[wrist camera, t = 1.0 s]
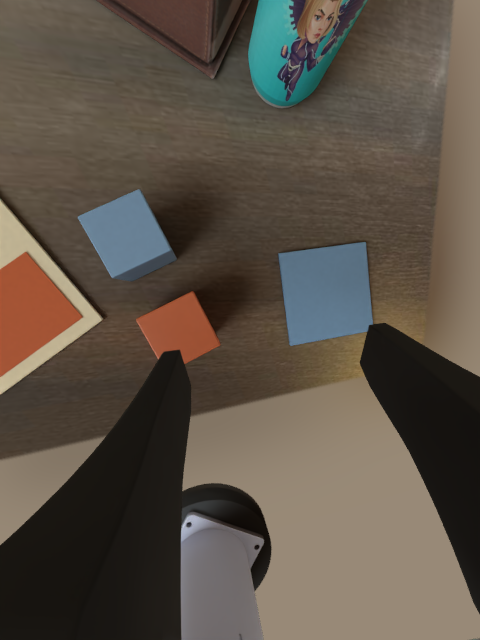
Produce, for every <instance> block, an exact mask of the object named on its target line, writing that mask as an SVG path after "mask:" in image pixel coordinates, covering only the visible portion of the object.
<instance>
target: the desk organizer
mask: <svg viewBox="0 0 480 640" xmlns="http://www.w3.org/2000/svg"><path fill="white" fill-rule="evenodd" d="M97 1H98V2H100V3H101V4H102V5H104V6H105V7H107V8H108V9H110V10H111V11H113V12H114V13H116V14H117V15H119V16H120V17H122V18H123V19H124V20H126V21H127V22H129V23H130V24H132V25H133V26H135V27H136V28H138V29H139V30H141V31H142V32H144V33H146V34H147V35H149V36H150V37H152V38H153V39H154V40H156V41H157V42H159V43H160V44H162V45H163V46H165V47H166V48H168V49H169V50H171V51H172V52H174V53H175V54H177V55H178V56H180V57H181V58H183V59H184V60H186V61H187V62H189V63H190V64H192V65H193V66H195V67H196V68H198V69H199V70H200V71H202V72H203V73H205V74H206V75H208V76H209V77H211V78H212V79H213V78H214V77H215V75H216V72H217V70H218V68H219V67H220V64H221V62H222V60H223V58H224V56H225V53H226V51H227V49H228V47H229V45H230V43H231V40H232V38H233V36H234V34H235V32H236V30H237V28H238V26H239V24H240V21H241V19H242V17H243V15H244V13H245V11H246V9H247V7H248V5H249V3H250V0H97Z"/></svg>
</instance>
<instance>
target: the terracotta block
mask: <svg viewBox="0 0 480 640" xmlns="http://www.w3.org/2000/svg"><path fill="white" fill-rule="evenodd" d="M136 321H137V323H138V324H139V326H140V328H141V330H142V332H143V333H144V335H145V337H146V339H147V340H148V342H149V344H150V346H151V347H152V349H153V351H154V353H155V354H156V356H157V358H158V359H159V358H160V356H161V354H162V353H163V352H165V351H172V350H180V352H181V355H182V358H183V361H184V364H186V363H188V362H189V361H191V360H193V359H195V358H197V357H199V356H201V355H203V354H205V353H207V352H209V351H210V350H212V349H214V348H216V347H218V346H220V345H221V344H220V341H219V339H218V337H217V335H216V333H215V331H214V329H213V327H212V325H211V323H210V321H209V320H208V318H207V316H206V314H205V312H204V310H203V308H202V306H201V304H200V302H199V300H198V298H197V296H196V294H195V293H194V292H193V291H191V292H189V293H187V294H185V295H183V296H181V297H179V298H177V299H175V300H173V301H171V302H169V303H167V304H165V305H163V306H161V307H159V308H157V309H155V310H153V311H151V312H149V313H147V314H145V315H143V316H141V317H139V318H137V319H136Z"/></svg>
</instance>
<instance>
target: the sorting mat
mask: <svg viewBox="0 0 480 640" xmlns="http://www.w3.org/2000/svg"><path fill="white" fill-rule="evenodd" d="M102 320H104V319H103V318H102V316H101V315H100V314H99V313H98V312H97V311H96V309H95V308H94V307H93V306H92V305H91V304H90V302H89V301H88V300H87V299H86V298H85V297H84V295H83V294H82V293H81V292H80V291H79V290H78V288H77V287H76V286H75V285H74V284H73V283H72V281H71V280H70V279H69V278H68V277H67V276H66V274H65V273H64V272H63V271H62V270H61V268H60V267H59V266H58V265H57V264H56V263H55V261H54V260H53V259H52V258H51V257H50V256H49V254H48V253H47V252H46V251H45V250H44V249H43V247H42V246H41V245H40V244H39V243H38V242H37V240H36V239H35V238H34V237H33V236H32V235H31V233H30V232H29V231H28V230H27V229H26V228H25V226H24V225H23V224H22V223H21V222H20V221H19V219H18V218H17V217H16V216H15V215H14V213H13V212H12V211H11V210H10V209H9V208H8V206H7V205H6V204H5V203H4V202H3V201H2V199H1V198H0V395H1V394H2V393H4V392H5V391H6V390H8V389H9V388H10V387H12V386H13V385H15V384H16V383H17V382H19V381H20V380H21V379H23V378H24V377H26V376H27V375H28V374H30V373H31V372H32V371H34V370H35V369H36V368H38V367H39V366H41V365H42V364H43V363H45V362H46V361H47V360H49V359H50V358H52V357H53V356H54V355H56V354H57V353H58V352H60V351H61V350H63V349H64V348H65V347H67V346H68V345H69V344H71V343H72V342H73V341H75V340H76V339H78V338H79V337H80V336H82V335H83V334H84V333H86V332H87V331H89V330H90V329H91V328H93V327H94V326H95V325H97V324H98V323H100V322H101V321H102Z"/></svg>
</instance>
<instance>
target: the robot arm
mask: <svg viewBox="0 0 480 640" xmlns="http://www.w3.org/2000/svg"><path fill="white" fill-rule="evenodd" d="M360 365H361V367H362V370H363V372H364V374H365V377H366V379H367V381H368V383H369V385H370V387H371V389H372V390H373V392H374V394H375V396H376V397H377V399H378V401H379V402H380V404H381V406H382V407H383V409H384V410H385V412H386V414H387V415H388V417H389V419H390V420H391V422H392V424H393V425H394V427H395V428H396V430H397V432H398V433H399V435H400V437H401V438H402V440H403V441H404V443H405V445H406V447H407V449H408V450H409V452H410V454H411V456H412V458H413V460H414V462H415V464H416V466H417V469H418V471H419V472H420V474H421V477H422V479H423V481H424V483H425V485H426V487H427V490H428V492H429V494H430V496H431V498H432V500H433V503H434V505H435V507H436V509H437V512H438V514H439V516H440V518H441V521H442V523H443V526H444V528H445V530H446V533H447V535H448V537H449V540H450V542H451V544H452V547H453V549H454V552H455V555H456V557H457V560H458V562H459V565H460V568H461V570H462V573H463V575H464V578H465V580H466V583H467V586H468V588H469V591H470V594H471V597H472V599H473V602H474V604H475V606H476V608H477V610H478V612H479V614H480V377H479V376H477V375H475V374H473V373H471V372H469V371H468V370H466V369H464V368H462V367H460V366H458V365H456V364H455V363H453V362H451V361H449V360H448V359H445V358H444V357H442V356H441V355H439V354H437V353H435V352H434V351H432V350H430V349H429V348H427V347H425V346H424V345H422V344H420V343H419V342H417V341H415V340H414V339H412V338H410V337H409V336H407V335H405V334H404V333H402V332H400V331H399V330H397V329H395V328H393V327H392V326H390V325H388V324H386V323H380V324H373V325H369V327H368V331H367V336H366V340H365V344H364V348H363V352H362V356H361V360H360ZM190 414H191V384H190V381H189V377H188V374H187V371H186V368H185V365H184V361H183V358H182V355H181V352H180V350H172V351H165V352H163V353H162V354H161V356H160V358H159V359H158V361H157V363H156V364H155V366H154V368H153V370H152V371H151V373H150V374H149V376H148V378H147V379H146V381H145V383H144V384H143V386H142V387H141V389H140V390H139V392H138V393H137V395H136V396H135V398H134V399H133V401H132V402H131V404H130V405H129V407H128V408H127V409H126V411H125V412H124V413H123V415H122V416H121V418H120V419H119V420H118V422H117V423H116V424H115V426H114V427H113V428H112V430H111V431H110V432H109V433H108V435H107V436H106V437H105V438H104V440H103V441H102V442H101V443H100V445H99V446H98V447H97V448H96V449H95V451H94V452H93V453H92V454H91V455H90V456H89V458H88V459H87V460H86V461H85V462H84V463H83V464H82V465H81V466H80V467H79V469H78V470H77V471H76V472H75V473H74V474H73V475H72V476H71V477H70V479H68V481H67V482H66V483H65V484H64V485H63V486H62V487H61V488H60V489H59V490H58V491H57V492H56V493H55V494H54V495H53V496H52V497H51V498H50V499H49V500H48V501H47V502H46V503H45V504H44V505H43V506H42V507H41V508H40V509H39V510H38V511H37V512H36V513H35V514H34V515H33V516H31V517H30V519H28V520H27V521H26V522H25V523H24V524H23V525H22V526H21V527H20V528H19V529H18V530H17V531H16V532H15V533H13V534H12V535H11V536H10V537H9V538H8V539H7V540H6V541H5V542H4V543H2V544H1V545H0V640H264V639H263V633H262V629H261V623H260V618H259V612H258V607H257V603H256V597H255V592H254V587H253V581H252V576H251V571H250V569H251V567H252V565H253V563H254V561H255V559H256V557H257V555H258V554H259V552H260V550H261V548H262V546H263V544H264V538H263V536H262V535H260V534H258V533H255V532H252V531H249V530H246V529H243V528H240V527H237V526H234V525H231V524H228V523H226V522H223V521H220V520H217V519H214V518H211V517H208V516H205V515H202V514H199V513H196V512H189V513H188V514H187V516H186V518H185V520H184V521H183V523H182V525H181V516H182V483H183V472H184V463H185V455H186V446H187V438H188V431H189V422H190ZM188 522H191V523H190V524H188ZM255 545H257V546H255ZM472 640H480V638H479V639H472Z"/></svg>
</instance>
